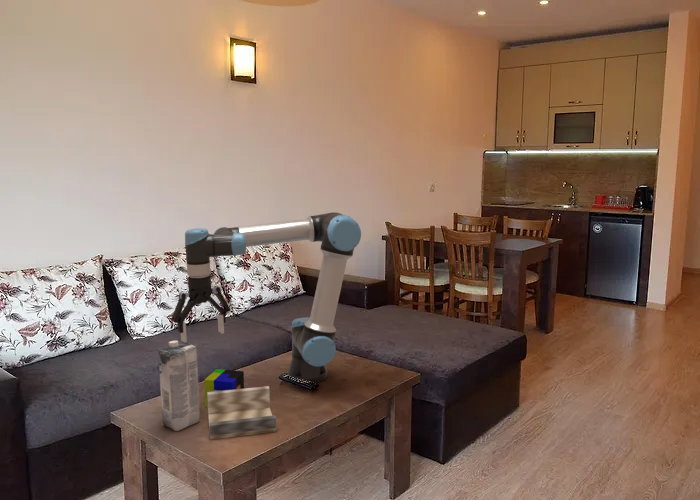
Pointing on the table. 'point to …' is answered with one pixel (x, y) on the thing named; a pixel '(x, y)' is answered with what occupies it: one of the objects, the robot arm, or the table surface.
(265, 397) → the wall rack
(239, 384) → the puzzle toy
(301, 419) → the table surface
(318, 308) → the robot arm
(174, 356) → the juice carton
